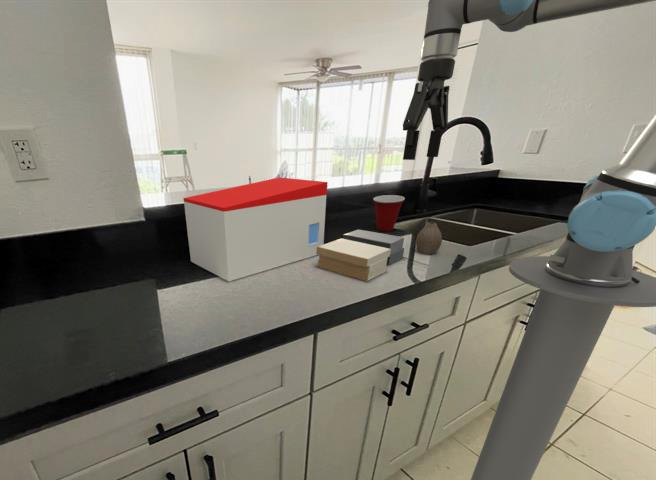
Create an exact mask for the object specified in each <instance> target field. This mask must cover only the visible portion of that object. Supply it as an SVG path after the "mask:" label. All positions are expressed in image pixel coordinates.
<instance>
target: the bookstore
mask: <svg viewBox="0 0 656 480" xmlns="http://www.w3.org/2000/svg"><path fill="white" fill-rule="evenodd" d="M327 195H328V181H322V180H320V181H319V180H311V179H302V178H301V179H300V178H289V177H279V176H278V177H275V178H271V179H266V180H265V179H264V180H261V181H257V182H251V183H247V184H241V185H238V186H233V187H229V188H223V189H219V190H215V191H210V192H205V193H201V194H200V193H199V194H195V195H191V196H187V197H183V205H184V214H185V222H186V231H187V239H188V247H189V256H190V262H191V263H193V264H195V265H197V266H198V267H200V268H202V269H204V270H206V271H208V272H210V273H212V274H214V275H215V276H218V277H219V278H221V279H223V280H225V281H227V282H231V281H236V280H238V279H242V278H244V277H248V276H251V275H254V274H258V273H261V272H265V271H268V270H271V269H274V268H279V267H281V266H285V265H288V264H292V263H295V262H298V261H302V260H305V259H308V258H312V257H315V256H318V255H319V254H316V252H317V247H318V246H321V245H324V244H325V241H324V240H325V227H326V225H325V224H326V208H327ZM319 256H320V255H319Z"/></svg>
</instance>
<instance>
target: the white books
mask: <svg viewBox="0 0 656 480" xmlns="http://www.w3.org/2000/svg"><path fill="white" fill-rule="evenodd" d="M317 262H318V263H317V267H318V268H321V269H324V270H328V271H330V272H334V273H338V274H341V275H344V276H348V277H351V278H354V279H357V280H361V281H364V282H368V281H370V280H372V279H375V278H376V277H378V276H381V275H382V274H384V273H385V272H386V269H387V266H388V265H387V258H385V259H383V260H380V261H378V262H376V263H374V264H372V265H370V266H367V267H364V266H360V265H356V264H353V263H349V262H345V261H341V260H338V259H334V258H330V257H326V256H323V255H319V258H318V261H317Z"/></svg>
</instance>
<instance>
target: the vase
mask: <svg viewBox="0 0 656 480" xmlns="http://www.w3.org/2000/svg"><path fill="white" fill-rule="evenodd" d="M442 243H443V234H442V233H441V230H440V229H439V227H438V224H437V223H436V222H427V224H426V225H425V226H424V227H423V228H422V229H421V230H420V231H419V232H418V233H417V235H416V238H415V247H416V249H417V251H418V252H419V253H420V254H423V255H433V254H435V253H436V252H438V251H439V250H440V248H441V246H442Z"/></svg>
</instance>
